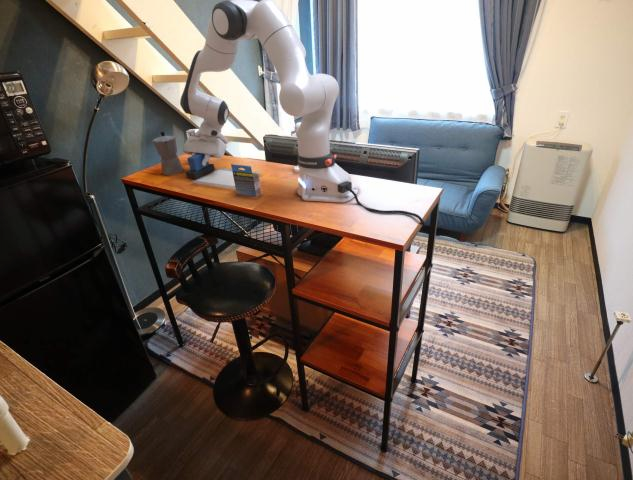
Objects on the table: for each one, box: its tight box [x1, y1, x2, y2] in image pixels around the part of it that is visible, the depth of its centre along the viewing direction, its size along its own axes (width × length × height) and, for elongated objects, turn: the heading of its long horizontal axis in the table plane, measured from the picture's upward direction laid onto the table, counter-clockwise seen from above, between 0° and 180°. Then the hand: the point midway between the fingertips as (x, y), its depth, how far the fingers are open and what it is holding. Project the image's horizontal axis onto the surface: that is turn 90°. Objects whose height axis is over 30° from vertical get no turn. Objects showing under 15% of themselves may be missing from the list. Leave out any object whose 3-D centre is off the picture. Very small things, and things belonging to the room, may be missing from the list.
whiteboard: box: [192, 167, 261, 190], centre depth 143 cm, size 22×18×1 cm
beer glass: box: [185, 128, 199, 140], centre depth 163 cm, size 7×7×15 cm
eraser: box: [185, 153, 216, 180], centre depth 146 cm, size 5×12×8 cm, turn 154°
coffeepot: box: [152, 131, 184, 176], centre depth 152 cm, size 15×9×18 cm, turn 27°
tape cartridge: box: [230, 163, 262, 197], centre depth 124 cm, size 9×4×12 cm, turn 65°
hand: (198, 164), depth 146 cm, fingers closed on eraser, 3 cm apart
